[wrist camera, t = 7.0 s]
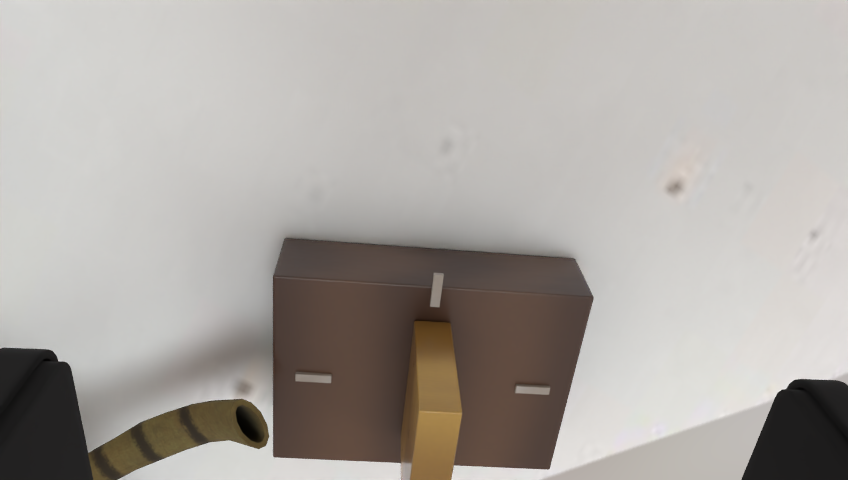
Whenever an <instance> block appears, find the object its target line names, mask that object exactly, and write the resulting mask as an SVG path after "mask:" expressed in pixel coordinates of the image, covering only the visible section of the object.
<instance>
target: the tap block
mask: <svg viewBox="0 0 848 480" xmlns="http://www.w3.org/2000/svg"><path fill="white" fill-rule="evenodd" d="M592 302H593V295H592V293H591V291H590V289H589V287H588V285H587V283H586V281H585V278H584V276H583V274H582V272H581V270H580V268H579V266H578V264H577V262H576V260H575V259H568V258H554V257H540V256H526V255H512V254H498V253H484V252H470V251H455V250H441V249H427V248H413V247H399V246H385V245H371V244H357V243H343V242H329V241H314V240H300V239H284V242H283V246H282V249H281V252H280V255H279V259H278V262H277V265H276V269H275V272H274V275H273V456H274V457H280V458H302V459H325V460H347V461H370V462H393V463H401V431H402V422H403V413H404V405H405V396H406V388H407V379H408V371H409V362H410V353H411V345H412V336H413V328H414V322H415V321H430V322H446V323H450V324H451V330H452V338H453V345H454V353H455V360H456V368H457V376H458V383H459V391H460V399H461V406H462V418H461V424H460V430H459V436H458V442H457V448H456V454H455V460H454V465H460V466H483V467H505V468H528V469H550V465H551V461H552V457H553V453H554V449H555V446H556V442H557V438H558V434H559V430H560V426H561V422H562V418H563V414H564V411H565V407H566V403H567V399H568V395H569V391H570V387H571V383H572V380H573V376H574V372H575V368H576V364H577V360H578V356H579V352H580V348H581V345H582V341H583V337H584V333H585V329H586V325H587V321H588V317H589V313H590V310H591V306H592Z"/></svg>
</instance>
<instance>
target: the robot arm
mask: <svg viewBox="0 0 848 480" xmlns="http://www.w3.org/2000/svg"><path fill="white" fill-rule="evenodd" d="M0 480H93V475H92V470H91V465H90V460H89V455H88V450H87V445H86V440H85V436H84V431H83V426H82V421H81V416H80V411H79V406H78V401H77V396H76V391H75V386H74V381H73V376H72V371H71V368H70V366H69V364H68V363H66V362H58V359H57V356H56V355H55V353H54V352H53V351H51V350H46V349H21V348H2V349H0ZM742 480H848V385H846V384H845V383H843V382H840V381H836V380H811V379H798V380H794V381H793V382H791V383H790V384H789V386H788V387H787V389H785V390H781V391H780V392H778V394H777V395H776V397H775V399H774V402H773V404H772V407H771V409H770V412H769V414H768V417H767V419H766V421H765V424H764V426H763V429H762V431H761V433H760V436H759V438H758V441H757V443H756V446H755V448H754V450H753V453H752V455H751V458H750V460H749V463H748V465H747V467H746V470H745V472H744V475H743V477H742Z"/></svg>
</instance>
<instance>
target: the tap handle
mask: <svg viewBox="0 0 848 480" xmlns="http://www.w3.org/2000/svg"><path fill="white" fill-rule="evenodd" d="M461 418H462V406H461V399H460V391H459V383H458V376H457V368H456V360H455V353H454V345H453V338H452V330H451V324H450V323H446V322H430V321H415V322H414V328H413V336H412V345H411V353H410V362H409V371H408V379H407V388H406V396H405V405H404V413H403V422H402V431H401V480H451V478H452V472H453V466H454V460H455V454H456V448H457V442H458V436H459V430H460V424H461Z"/></svg>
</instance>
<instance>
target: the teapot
mask: <svg viewBox="0 0 848 480" xmlns="http://www.w3.org/2000/svg"><path fill="white" fill-rule="evenodd" d="M268 438H269V434H268V427H267V424H266V422H265V420H264V418H263V416H262V414H261V412H260V411H259V410H258V409H257V408H256V407H255V406H254V405H253V404H252V403H251V402H248V401H246V400H243V399H234V400H215V401H208V402H202V403H196V404H191V405H188V406H185V407H182V408H179V409H176V410H173V411H170V412H167V413H164V414H161V415H159V416H156V417H153V418H151V419H148V420H146V421H143V422H141V423H139V424H137V425H136V426H134V427H132V428H131V429H129V430H127V431H126V432H124V433H122V434H121V435H119V436H118V437H116V438H114V439H112V440H111V441H109V442H107V443H105V444H103V445H102V446H100V447H98V448H96V449H95V450H93V451H91V452H89V453H88V455H89V460H90V465H91V470H92V475H93V480H118V479H119V478H121V477H123V476H125V475H127V474H129V473H131V472H132V471H134V470H136V469H139V468H141V467H144V466H146V465H149V464H151V463H154V462H156V461H159V460H161V459H164V458H166V457H169V456H171V455H174V454H176V453H179V452H181V451H184V450H186V449H190V448H193V447H196V446H199V445H202V444H206V443H209V442H216V441H226V440H231V441H234V442H237V443H241V444H244V445H247V446H250V447H254V448H257V449H260V448H262V447H264V446H266V444H267V441H268Z"/></svg>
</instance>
